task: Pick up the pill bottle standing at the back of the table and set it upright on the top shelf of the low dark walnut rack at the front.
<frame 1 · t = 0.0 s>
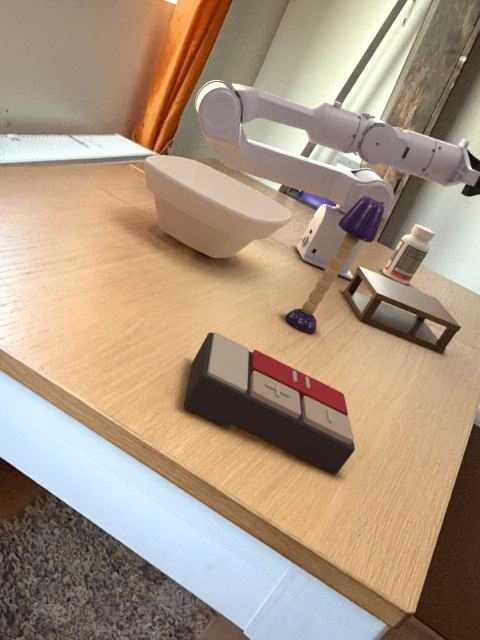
calculator: (259, 418, 71), on the table
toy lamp: (300, 327, 97), on the table
pill bottle: (394, 279, 142), on the table
rack: (391, 322, 116), on the table
bowl: (195, 246, 110), on the table
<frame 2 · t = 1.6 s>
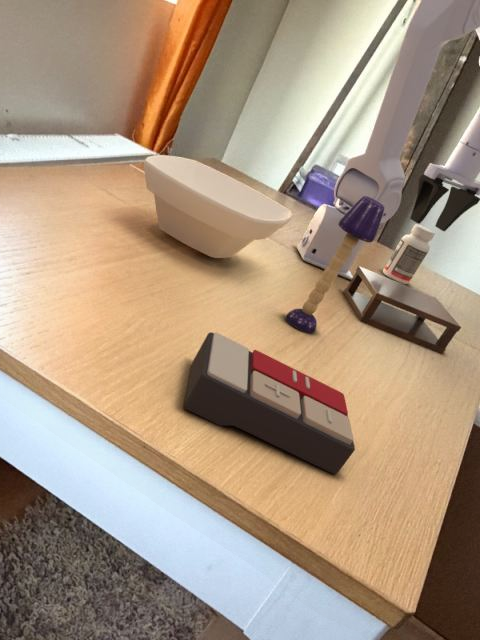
hand: (427, 225, 136), 10 cm above the table, tool pointing down, fingers open, 7 cm apart
nothing on the table moved.
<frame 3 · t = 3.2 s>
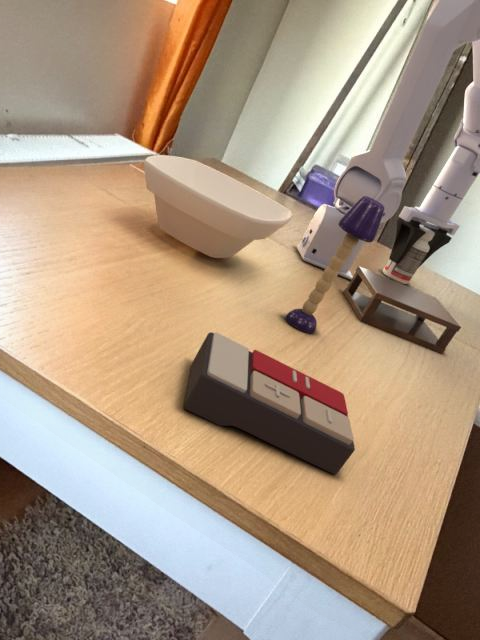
hand: (403, 263, 141), 3 cm above the table, tool pointing down, fingers closed on pill bottle, 5 cm apart
pill bottle: (393, 279, 142), on the table, touching gripper
everything else where it was.
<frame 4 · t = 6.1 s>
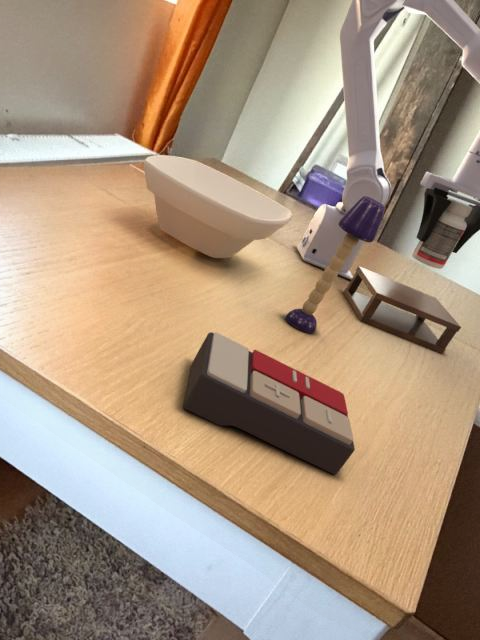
hand: (436, 245, 121), 10 cm above the table, tool pointing down, fingers closed on pill bottle, 5 cm apart
pill bottle: (425, 263, 123), point 7 cm above the table, touching gripper
everything else where it was.
when the fingers open (7 cm above the table, at t = 8.9 s): pill bottle stays where it is, resting on rack.
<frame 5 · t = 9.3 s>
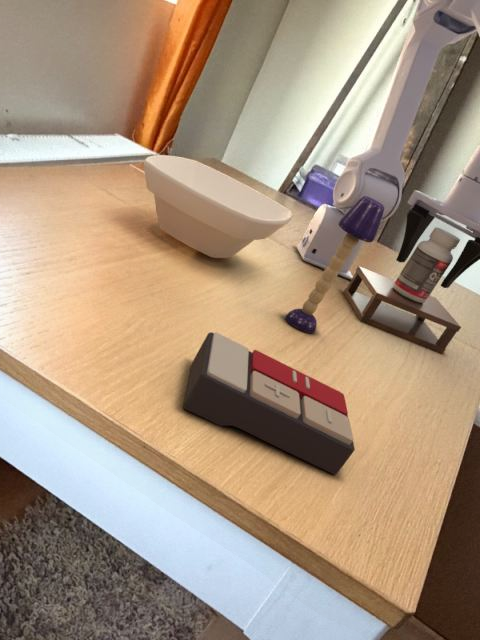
hand: (421, 273, 111), 8 cm above the table, tool pointing down, fingers open, 7 cm apart
pill bottle: (407, 296, 113), point 4 cm above the table, touching rack
everything else where it was.
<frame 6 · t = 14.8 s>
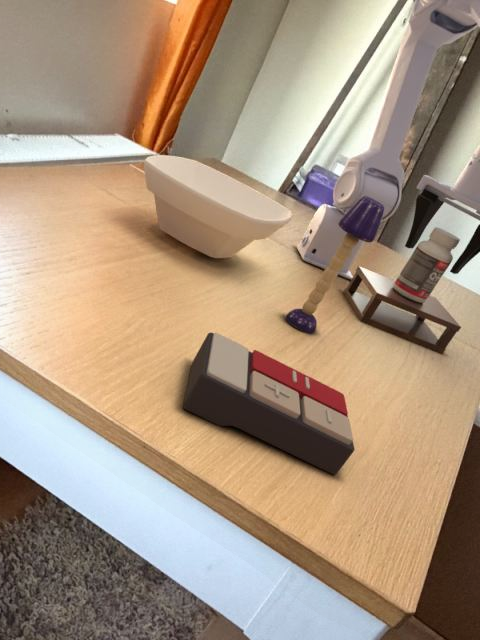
hand: (431, 259, 110), 10 cm above the table, tool pointing down, fingers open, 7 cm apart
nothing on the table moved.
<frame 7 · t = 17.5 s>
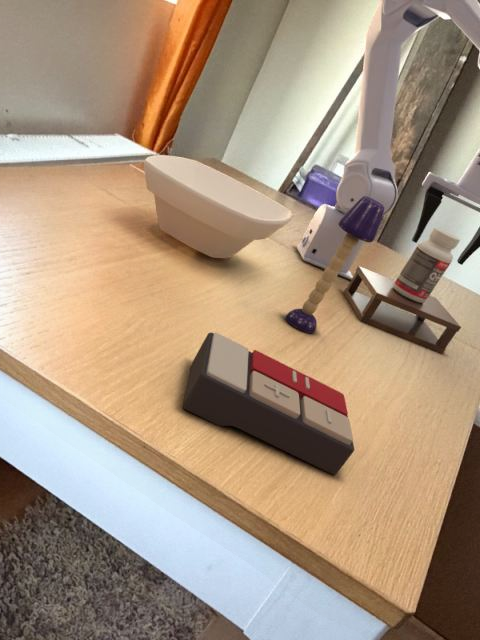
hand: (436, 251, 117), 10 cm above the table, tool pointing down, fingers open, 7 cm apart
nothing on the table moved.
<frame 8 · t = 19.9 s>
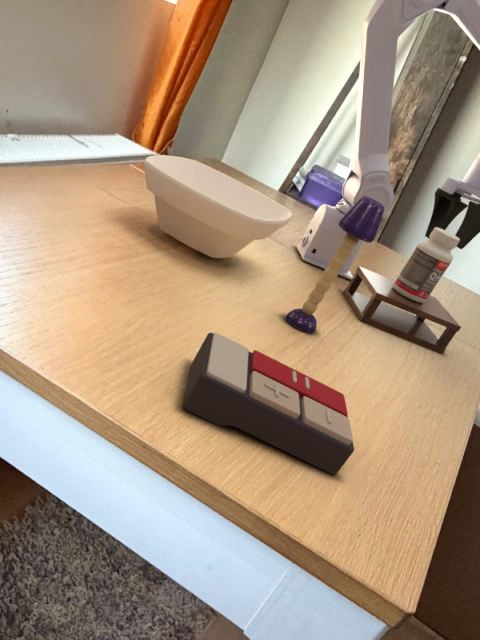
hand: (443, 242, 127), 10 cm above the table, tool pointing down, fingers open, 7 cm apart
nothing on the table moved.
at the end: pill bottle inside the target area on the rack (0.1 cm from its centre), point 4.3 cm above the rack's base; pill bottle tilted 0°; the gripper is holding nothing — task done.
